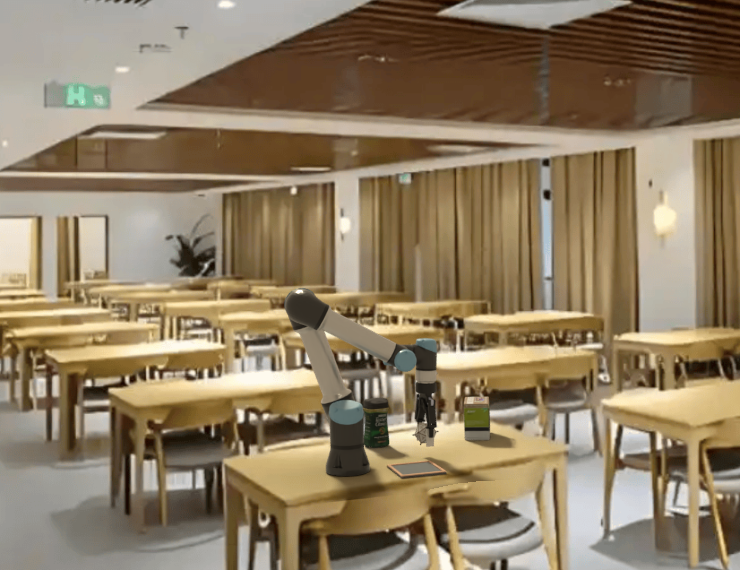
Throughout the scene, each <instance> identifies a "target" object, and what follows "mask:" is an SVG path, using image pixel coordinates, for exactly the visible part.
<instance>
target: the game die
mask: <svg viewBox="0 0 740 570" xmlns="http://www.w3.org/2000/svg"><path fill="white" fill-rule="evenodd" d="M417 423H418V422H417V421H416V424H417ZM426 427H427V422H426V423H425V422H424V423H423V424H419V423H418V426H417V425H416V430H415V432H414V433H413V434H412V436H413V437H415V438H416V440H417V439H418V440H419V442H420V443H419V446H422V444H426ZM439 432H440V431H439V430H436V429H435V428H434V438H435V436H436V435H437V433H439Z"/></svg>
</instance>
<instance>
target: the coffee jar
mask: <svg viewBox="0 0 740 570" xmlns="http://www.w3.org/2000/svg"><path fill="white" fill-rule="evenodd" d="M362 406H363V411H364V447H366V448H371V449H379V448H378V447H380V448H384V447H385V448H386V447H388V446H389V445H390V435H389V433H390V432H389V425H388V412H389V409H390V407H389V406H390V405H389V399H388V398H385V397H372V398H365V399H364V400H363V405H362Z"/></svg>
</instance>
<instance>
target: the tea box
mask: <svg viewBox="0 0 740 570" xmlns="http://www.w3.org/2000/svg"><path fill="white" fill-rule="evenodd" d="M490 411H491V410H490V397H489V396H464V401H463V427H464V430H463V431H464V432H463V433H464V440H465V441H490V438H491V419H490V418H491V415H490V414H491V412H490Z"/></svg>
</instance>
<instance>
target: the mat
mask: <svg viewBox="0 0 740 570" xmlns="http://www.w3.org/2000/svg"><path fill="white" fill-rule="evenodd" d="M386 468H387V469H388V470H390V472H391V471H392V473H393V474H395V475H396V476H398V477H399V478H400V479H409V478H419V477H428V476H437V475H447V470H445V469H444V468H442V467H441V466H440V465H438V464H437V463H435V462H433V461H432V460H421V461H410V462H398V463H389V464H386Z"/></svg>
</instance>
